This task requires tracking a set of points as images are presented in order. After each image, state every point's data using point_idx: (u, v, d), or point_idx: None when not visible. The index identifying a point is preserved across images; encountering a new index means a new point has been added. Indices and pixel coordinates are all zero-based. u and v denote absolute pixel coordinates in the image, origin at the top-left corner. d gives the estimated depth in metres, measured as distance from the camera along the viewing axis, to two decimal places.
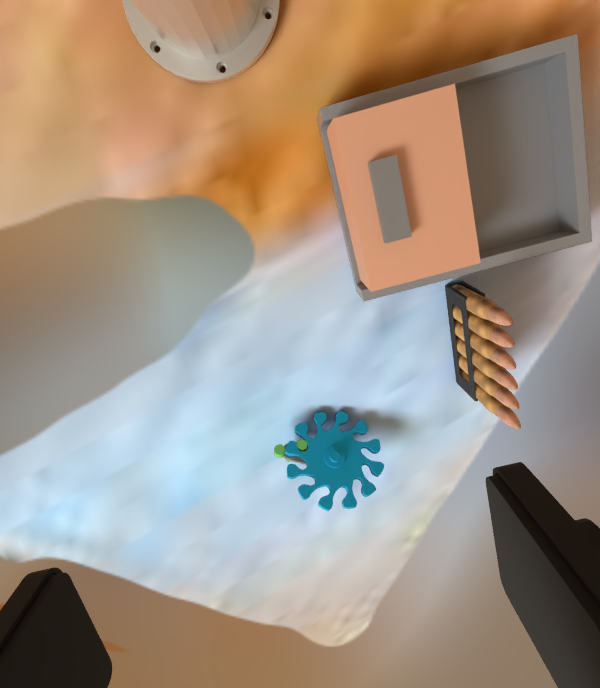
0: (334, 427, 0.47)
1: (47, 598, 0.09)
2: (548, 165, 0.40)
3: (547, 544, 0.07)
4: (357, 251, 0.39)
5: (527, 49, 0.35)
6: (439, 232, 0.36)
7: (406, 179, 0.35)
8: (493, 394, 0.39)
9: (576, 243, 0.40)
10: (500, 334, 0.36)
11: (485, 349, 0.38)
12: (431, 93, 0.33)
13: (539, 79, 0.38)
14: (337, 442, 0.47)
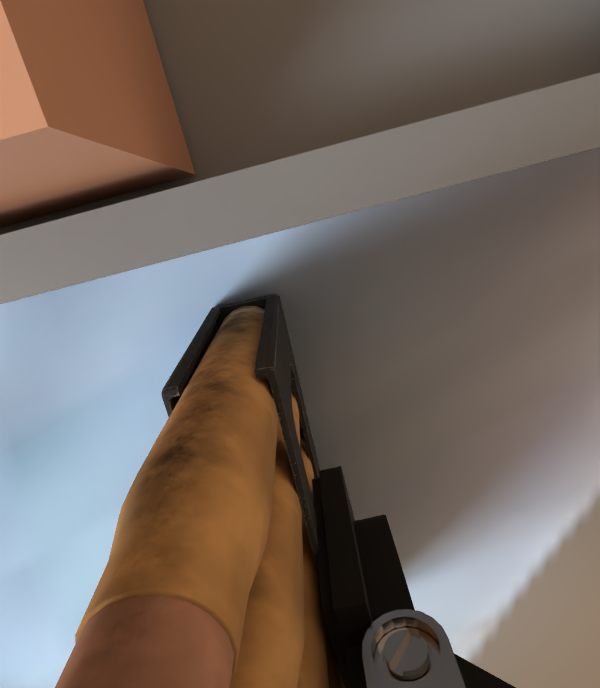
0: None
1: None
2: None
3: (323, 535, 0.09)
4: None
5: None
6: None
7: None
8: None
9: None
10: None
11: None
12: None
13: None
14: None
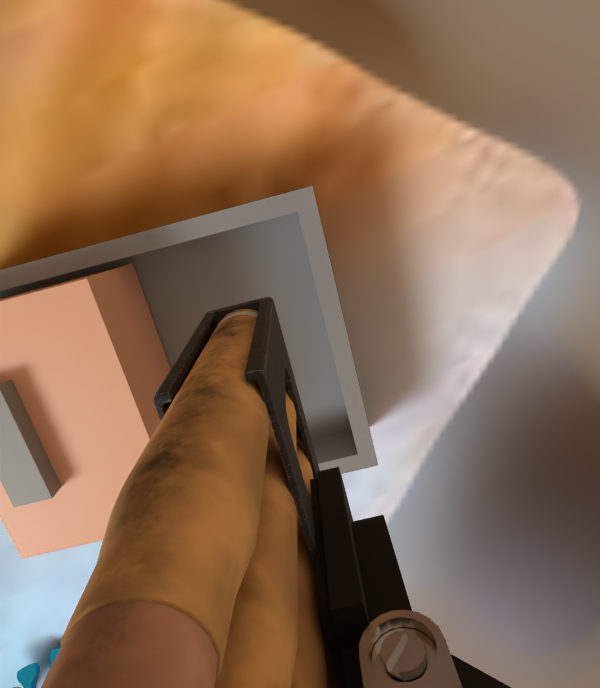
0: None
1: None
2: (323, 346, 0.28)
3: (320, 535, 0.09)
4: None
5: (237, 207, 0.23)
6: (108, 482, 0.23)
7: (40, 411, 0.22)
8: None
9: (355, 467, 0.27)
10: None
11: None
12: (52, 292, 0.21)
13: (292, 232, 0.26)
14: None
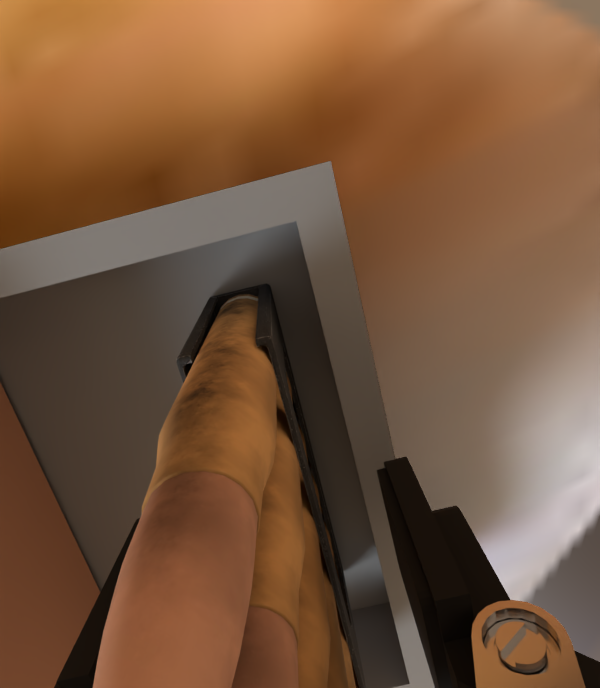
0: None
1: None
2: (341, 467, 0.15)
3: (403, 526, 0.08)
4: None
5: (158, 211, 0.10)
6: None
7: None
8: None
9: None
10: None
11: None
12: None
13: (285, 260, 0.13)
14: None
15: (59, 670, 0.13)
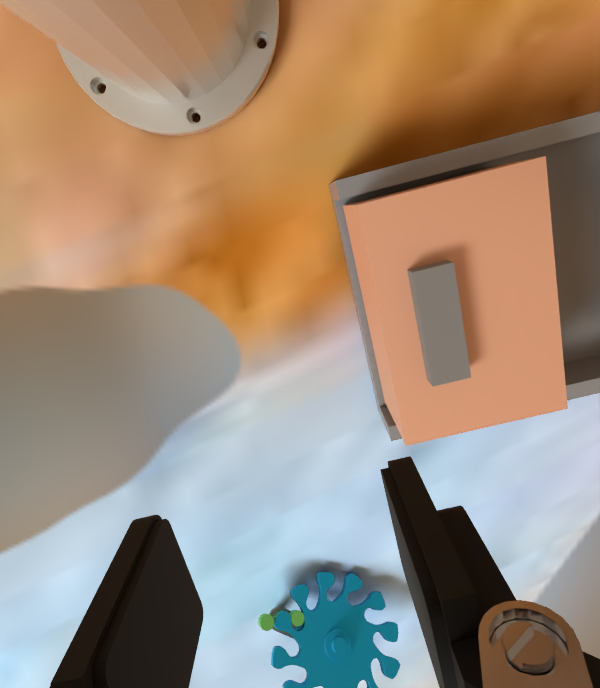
0: (342, 598, 0.36)
1: (157, 539, 0.10)
2: None
3: (408, 526, 0.08)
4: (384, 376, 0.28)
5: None
6: (509, 367, 0.24)
7: (464, 293, 0.23)
8: None
9: None
10: None
11: None
12: (509, 170, 0.21)
13: None
14: (344, 621, 0.35)
15: None
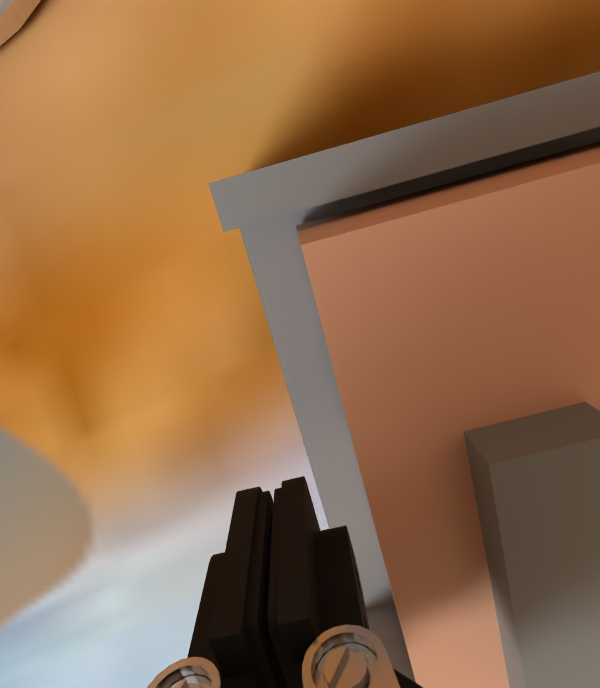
0: None
1: (266, 509, 0.10)
2: None
3: (277, 548, 0.09)
4: None
5: None
6: None
7: None
8: None
9: None
10: None
11: None
12: None
13: None
14: None
15: None
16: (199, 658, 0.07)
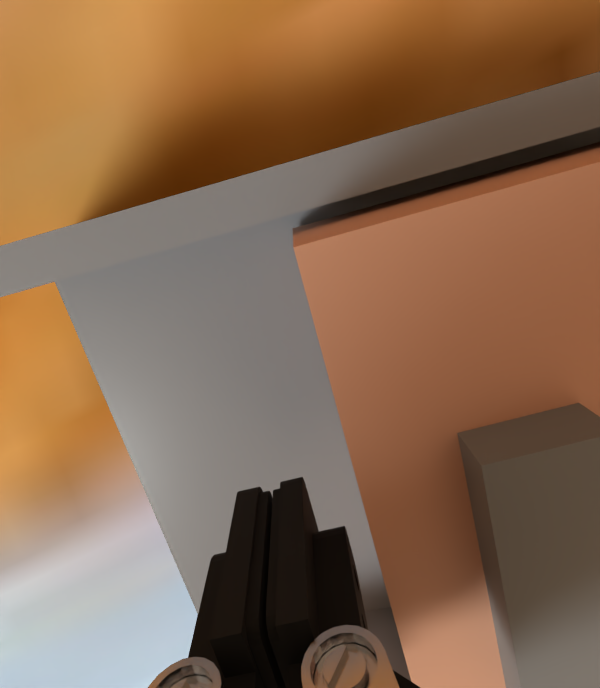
0: None
1: (266, 509, 0.10)
2: None
3: (276, 548, 0.09)
4: None
5: None
6: None
7: None
8: None
9: None
10: None
11: None
12: None
13: None
14: None
15: None
16: (200, 658, 0.07)
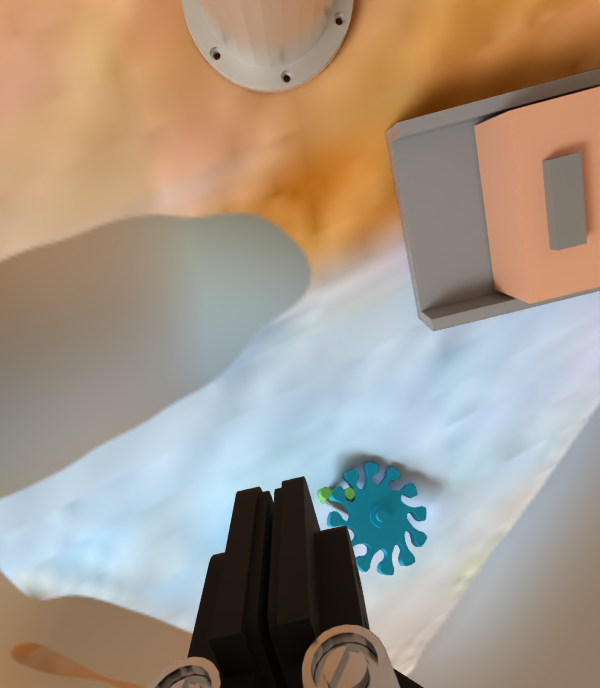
0: (384, 483, 0.45)
1: (266, 509, 0.10)
2: None
3: (278, 548, 0.09)
4: (505, 258, 0.36)
5: None
6: None
7: (582, 179, 0.31)
8: None
9: None
10: None
11: None
12: None
13: None
14: (385, 500, 0.44)
15: None
16: (199, 658, 0.07)
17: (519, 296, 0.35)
